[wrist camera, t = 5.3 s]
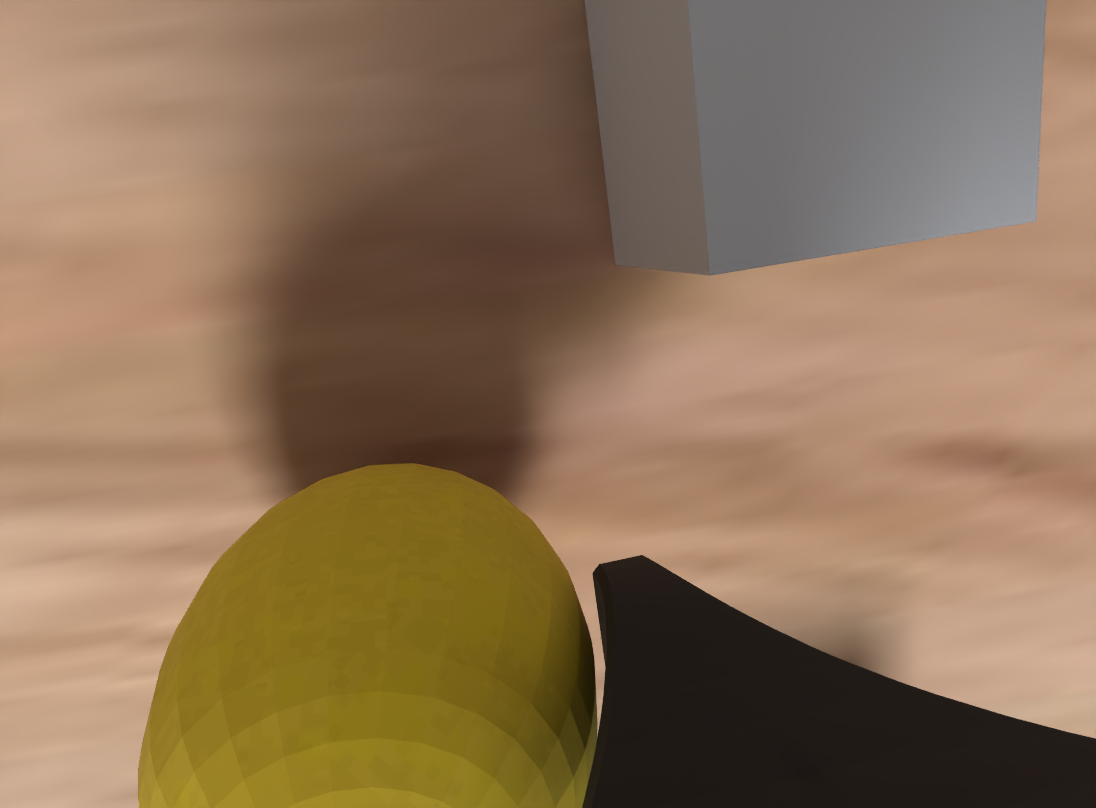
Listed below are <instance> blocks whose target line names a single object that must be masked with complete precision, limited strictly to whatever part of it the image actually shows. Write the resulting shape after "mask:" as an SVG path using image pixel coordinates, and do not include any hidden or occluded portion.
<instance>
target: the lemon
mask: <svg viewBox="0 0 1096 808" xmlns="http://www.w3.org/2000/svg"><path fill="white" fill-rule="evenodd" d="M596 743H597V704H596V684H595V664H594V654H593V647H592V641H591V637H590V633H589V630H588V626H587V623H586V620H585V617H584V614H583V611H582V609H581V606H580V603H579V600H578V597H577V594H576V591H575V588H574V586H573V583H572V581H571V578H570V576H569V573H568V571H567V569H566V568H565V566H564V564H563V563H562V561H561V560H560V558H559V557H558V555H557V554H556V553H555V551H554V550H553V548H552V547H551V545H550V544H549V543H548V541H547V540H546V538H545V537H544V535H543V534H542V533H541V531H540V530H539V528H538V527H537V526H536V524H535V523H534V522H533V521H532V520H531V519H530V518H529V517H528V516H527V515H525V514H524V513H523V512H522V511H520V510H519V509H518V508H517V507H516V506H514V505H513V504H512V503H511V502H509V501H508V500H507V499H506V498H505V497H503V496H502V495H501V494H500V493H498V492H497V491H496V490H494V489H492V488H490V487H488V486H486V485H484V484H482V483H479V482H477V481H475V480H473V479H471V478H469V477H466V476H464V475H462V474H460V473H458V472H456V471H451V470H446V469H441V468H435V467H430V466H425V465H420V464H415V463H407V464H383V465H369V466H365V467H362V468H358V469H355V470H351V471H348V472H344V473H341V474H337V475H334V476H330V477H327V478H324V479H321V480H319V481H317V482H316V483H314V484H312V485H310V486H309V487H307V488H305V489H303V490H301V491H300V492H298V493H296V494H294V495H293V496H291V497H289V498H287V499H285V500H284V501H282V502H280V503H278V504H277V505H276V506H274V507H273V508H271V509H270V510H268V511H267V512H266V513H265V514H264V515H263V516H262V517H261V518H260V519H259V520H258V521H257V522H256V523H255V524H254V525H253V526H252V527H251V528H250V529H249V530H248V531H246V532H245V533H244V534H243V535H242V536H241V537H240V538H239V539H238V540H237V541H236V542H235V543H234V544H233V545H232V546H231V547H230V548H229V549H228V550H227V551H226V552H225V553H224V554H223V555H222V556H221V557H220V559H219V560H218V561H217V562H216V564H215V565H214V566H213V567H212V569H211V571H210V572H209V574H208V575H207V577H206V579H205V580H204V582H203V584H202V586H201V587H200V589H199V591H198V592H197V594H196V596H195V598H194V599H193V601H192V603H191V605H190V606H189V608H188V610H187V611H186V613H185V615H184V617H183V618H182V620H181V622H180V624H179V625H178V627H177V629H176V631H175V633H174V635H173V637H172V640H171V642H170V644H169V646H168V649H167V651H166V654H165V657H164V660H163V663H162V666H161V669H160V672H159V676H158V680H157V684H156V688H155V692H154V696H153V700H152V705H151V709H150V713H149V717H148V721H147V726H146V730H145V734H144V738H143V742H142V748H141V755H140V761H139V768H138V800H139V808H582V805H583V802H584V797H585V793H586V789H587V784H588V780H589V776H590V772H591V767H592V763H593V758H594V754H595V748H596Z"/></svg>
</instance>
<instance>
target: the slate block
mask: <svg viewBox="0 0 1096 808" xmlns="http://www.w3.org/2000/svg"><path fill="white" fill-rule="evenodd" d="M584 1H585V10H586V18H587V27H588V35H589V44H590V52H591V61H592V69H593V78H594V86H595V95H596V104H597V112H598V121H599V129H600V138H601V146H602V155H603V163H604V172H605V180H606V189H607V197H608V206H609V214H610V223H611V231H612V240H613V248H614V257H615V265H619V266H628V267H638V268H647V269H656V270H665V271H674V272H683V273H692V274H702V275H716V274H722V273H728V272H734V271H740V270H746V269H752V268H758V267H764V266H770V265H776V264H782V263H788V262H794V261H800V260H806V259H812V258H818V257H824V256H830V255H836V254H842V253H848V252H854V251H860V250H866V249H872V248H878V247H884V246H890V245H896V244H902V243H908V242H914V241H920V240H926V239H932V238H938V237H944V236H950V235H956V234H962V233H969V232H975V231H981V230H987V229H993V228H999V227H1005V226H1011V225H1017V224H1023V223H1029V222H1035V221H1036V215H1037V193H1038V171H1039V149H1040V127H1041V105H1042V83H1043V61H1044V39H1045V17H1046V0H584Z"/></svg>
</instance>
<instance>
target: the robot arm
mask: <svg viewBox="0 0 1096 808" xmlns="http://www.w3.org/2000/svg"><path fill="white" fill-rule="evenodd" d="M593 581H594V588H595V595H596V602H597V609H598V616H599V624H600V631H601V638H602V645H603V652H604V660H605V667H606V669H605V683H604V696H603V704H602V712H601V719H600V725H599V731H598V737H597V743H596V748H595V754H594V758H593V763H592V767H591V772H590V776H589V780H588V784H587V789H586V793H585V797H584V802H583V805H582V808H1096V739H1095V738H1091V737H1086V736H1082V735H1078V734H1073V733H1069V732H1065V731H1061V730H1057V729H1054V728H1050V727H1046V726H1042V725H1039V724H1035V723H1031V722H1027V721H1023V720H1020V719H1016V718H1012V717H1009V716H1005V715H1002V714H998V713H995V712H992V711H989V710H985V709H982V708H979V707H976V706H972V705H969V704H966V703H962V702H959V701H956V700H953V699H949V698H946V697H943V696H939V695H936V694H933V693H930V692H927V691H924V690H921V689H919V688H916V687H913V686H910V685H907V684H904V683H901V682H898V681H895V680H893V679H890V678H888V677H885V676H882V675H880V674H877V673H875V672H872V671H870V670H867V669H864V668H862V667H859V666H857V665H854V664H851V663H849V662H846V661H844V660H841V659H839V658H836V657H834V656H832V655H829V654H827V653H825V652H822V651H820V650H818V649H815V648H813V647H811V646H809V645H807V644H805V643H803V642H800V641H798V640H796V639H794V638H792V637H790V636H788V635H786V634H784V633H782V632H779V631H777V630H775V629H773V628H771V627H769V626H767V625H765V624H763V623H761V622H759V621H757V620H755V619H753V618H752V617H750V616H748V615H746V614H744V613H742V612H740V611H738V610H736V609H735V608H733V607H731V606H729V605H727V604H726V603H724V602H722V601H720V600H718V599H717V598H715V597H713V596H711V595H710V594H708V593H706V592H704V591H703V590H701V589H699V588H698V587H696V586H694V585H693V584H691V583H689V582H687V581H686V580H684V579H682V578H681V577H679V576H677V575H676V574H674V573H672V572H671V571H669V570H667V569H666V568H664V567H662V566H661V565H659V564H657V563H656V562H654V561H652V560H650V559H649V558H647V557H645V556H643V555H640V556H636V557H631V558H626V559H622V560H617V561H612V562H608V563H603V564H599V565H598V567H597V568H596V569H595V571H594V572H593Z"/></svg>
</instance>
